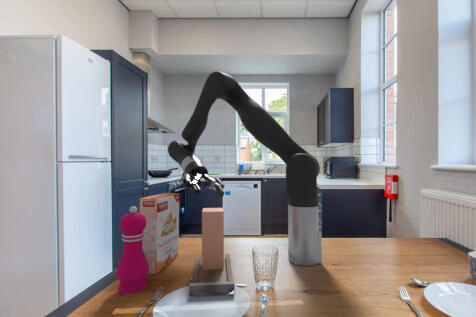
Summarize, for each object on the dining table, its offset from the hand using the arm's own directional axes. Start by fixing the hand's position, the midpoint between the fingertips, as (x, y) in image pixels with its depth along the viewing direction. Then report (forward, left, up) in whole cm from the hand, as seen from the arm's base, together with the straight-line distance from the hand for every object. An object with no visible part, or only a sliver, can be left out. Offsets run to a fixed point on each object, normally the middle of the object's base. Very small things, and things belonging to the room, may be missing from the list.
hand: (211, 194), depth 80 cm
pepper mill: (+18, +17, -21) cm, 33 cm away
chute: (-1, +12, -21) cm, 24 cm away
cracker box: (+15, +3, -21) cm, 26 cm away
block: (-1, +6, -20) cm, 21 cm away
